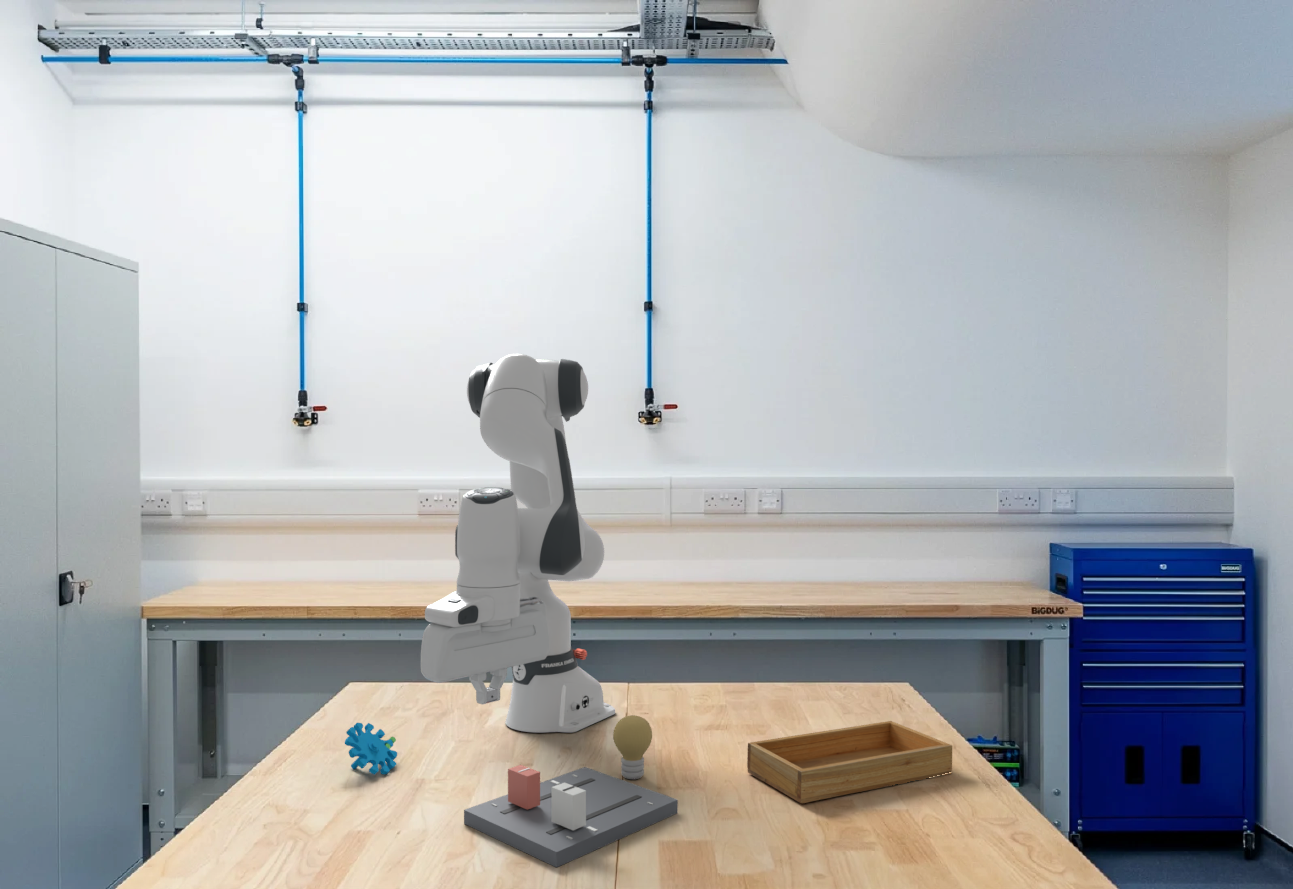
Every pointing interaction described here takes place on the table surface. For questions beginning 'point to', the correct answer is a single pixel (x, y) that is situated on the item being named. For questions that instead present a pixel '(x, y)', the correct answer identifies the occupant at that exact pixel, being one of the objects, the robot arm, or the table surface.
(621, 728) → the light bulb
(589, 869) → the table surface
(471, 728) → the table surface
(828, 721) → the table surface
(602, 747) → the table surface
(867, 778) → the tray
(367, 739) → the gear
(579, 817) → the grey fader
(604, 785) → the console
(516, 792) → the red fader
